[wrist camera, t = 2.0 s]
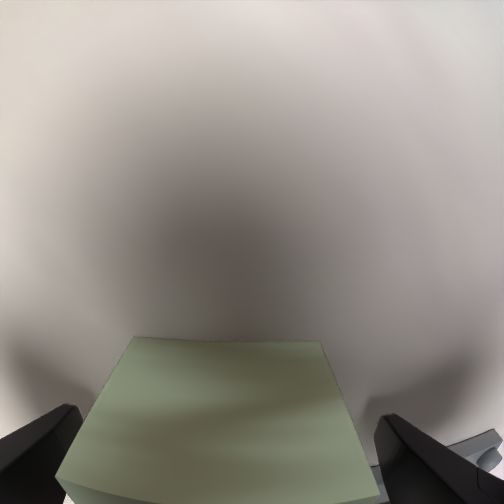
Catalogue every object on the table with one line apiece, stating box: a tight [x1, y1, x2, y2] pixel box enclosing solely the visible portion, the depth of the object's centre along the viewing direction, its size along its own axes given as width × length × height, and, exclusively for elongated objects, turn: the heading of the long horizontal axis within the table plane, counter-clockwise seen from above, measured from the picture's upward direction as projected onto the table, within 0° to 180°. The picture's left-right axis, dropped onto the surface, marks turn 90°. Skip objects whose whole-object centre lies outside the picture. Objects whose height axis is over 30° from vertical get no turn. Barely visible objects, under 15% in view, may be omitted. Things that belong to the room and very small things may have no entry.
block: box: [55, 336, 380, 504], centre depth 6 cm, size 5×5×5 cm
